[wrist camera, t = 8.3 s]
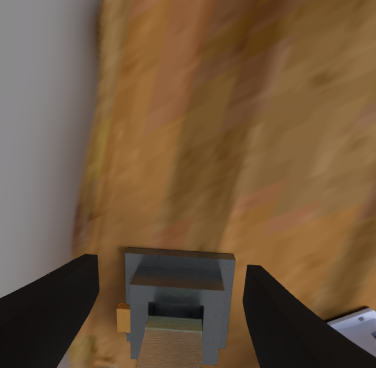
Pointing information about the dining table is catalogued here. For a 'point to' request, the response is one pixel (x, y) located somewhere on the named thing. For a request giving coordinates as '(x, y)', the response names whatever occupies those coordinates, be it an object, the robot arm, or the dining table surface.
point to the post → (171, 343)
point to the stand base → (177, 294)
